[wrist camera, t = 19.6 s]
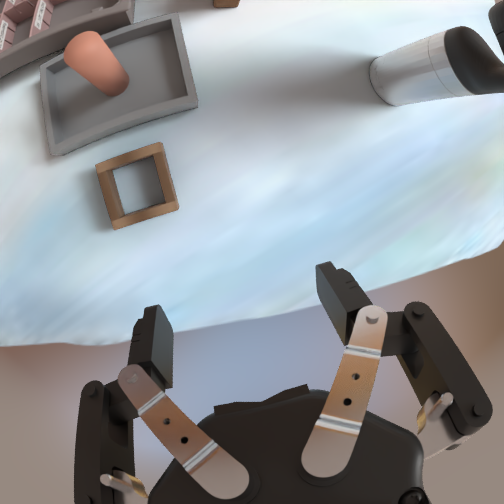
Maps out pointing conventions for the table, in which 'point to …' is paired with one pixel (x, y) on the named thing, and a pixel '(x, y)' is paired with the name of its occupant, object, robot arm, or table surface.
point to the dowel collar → (112, 193)
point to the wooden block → (225, 3)
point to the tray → (132, 99)
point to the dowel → (96, 63)
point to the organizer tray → (53, 26)
